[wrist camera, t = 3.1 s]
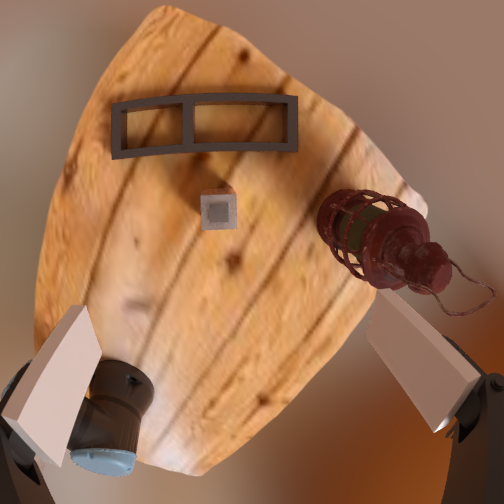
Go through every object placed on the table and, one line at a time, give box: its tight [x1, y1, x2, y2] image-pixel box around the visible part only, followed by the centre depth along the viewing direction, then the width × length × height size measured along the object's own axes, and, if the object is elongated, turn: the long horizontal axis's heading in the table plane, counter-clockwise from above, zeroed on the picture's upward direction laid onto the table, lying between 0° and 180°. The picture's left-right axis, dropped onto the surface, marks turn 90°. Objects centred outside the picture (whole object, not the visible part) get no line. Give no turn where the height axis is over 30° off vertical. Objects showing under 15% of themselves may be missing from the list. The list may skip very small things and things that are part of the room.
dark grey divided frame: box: [111, 93, 298, 160], centre depth 35 cm, size 26×8×3 cm, turn 90°
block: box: [200, 188, 237, 230], centre depth 37 cm, size 4×4×7 cm
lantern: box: [317, 189, 496, 317], centre depth 30 cm, size 12×12×30 cm
